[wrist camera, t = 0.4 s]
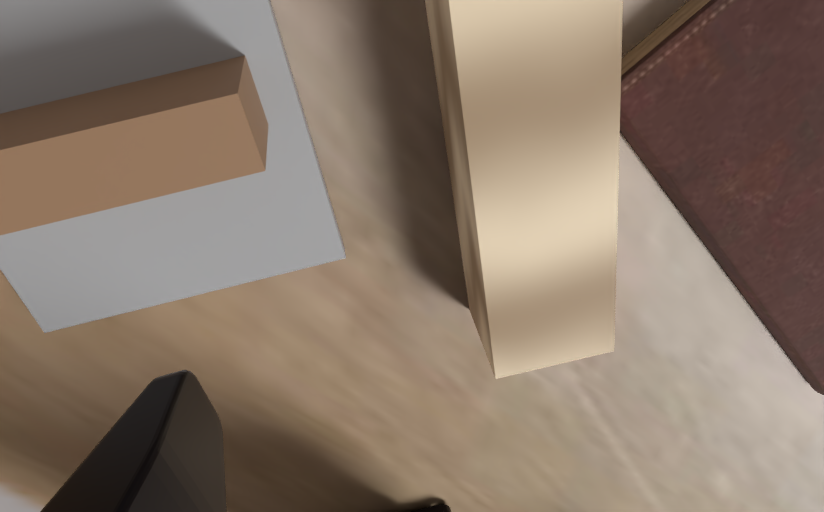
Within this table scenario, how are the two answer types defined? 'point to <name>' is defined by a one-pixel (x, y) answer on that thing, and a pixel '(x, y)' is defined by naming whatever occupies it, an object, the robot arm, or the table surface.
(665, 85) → the notebook
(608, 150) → the beech bar
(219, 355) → the table surface
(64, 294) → the fulcrum stand
